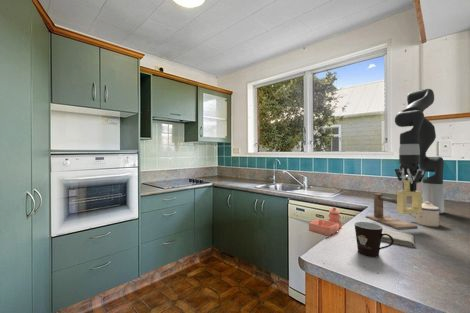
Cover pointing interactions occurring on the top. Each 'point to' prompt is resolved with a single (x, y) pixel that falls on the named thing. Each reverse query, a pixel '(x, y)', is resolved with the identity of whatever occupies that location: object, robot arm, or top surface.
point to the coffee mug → (369, 238)
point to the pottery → (327, 224)
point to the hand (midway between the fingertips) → (409, 190)
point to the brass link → (403, 200)
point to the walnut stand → (387, 220)
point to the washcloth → (398, 238)
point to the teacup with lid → (428, 215)
